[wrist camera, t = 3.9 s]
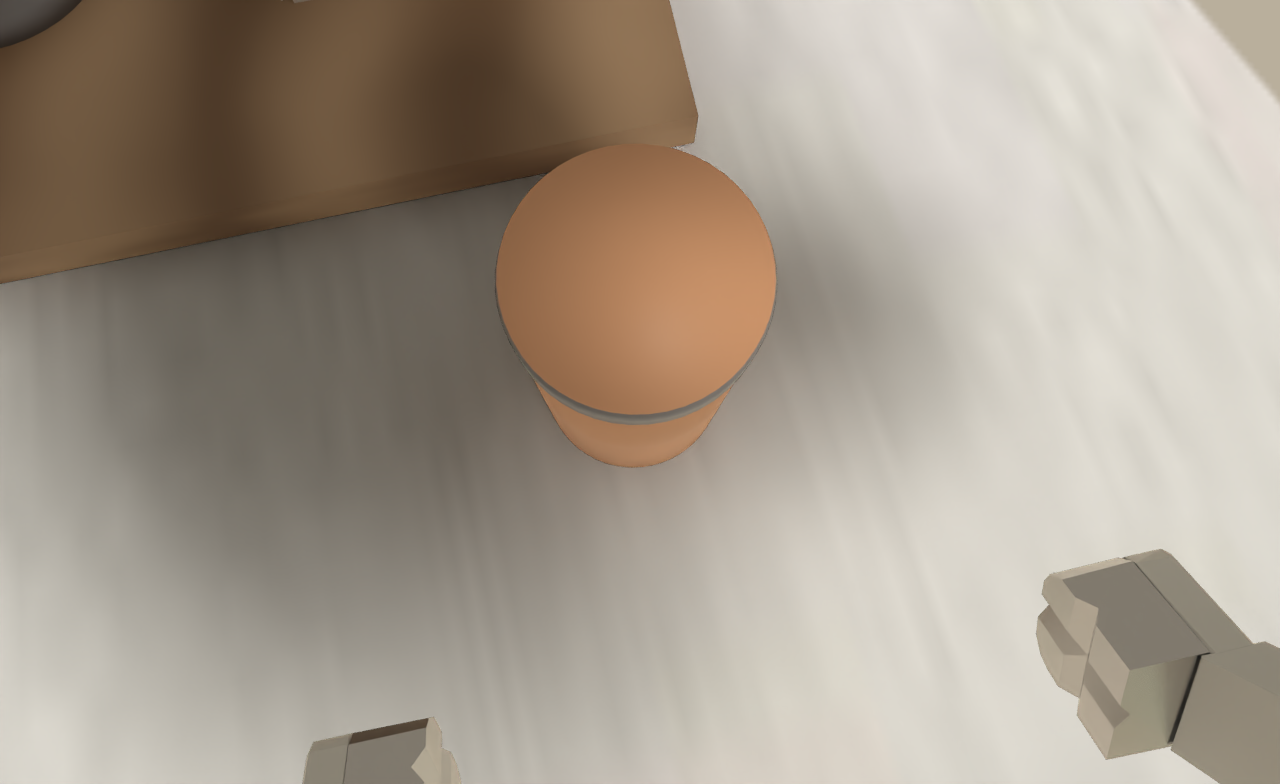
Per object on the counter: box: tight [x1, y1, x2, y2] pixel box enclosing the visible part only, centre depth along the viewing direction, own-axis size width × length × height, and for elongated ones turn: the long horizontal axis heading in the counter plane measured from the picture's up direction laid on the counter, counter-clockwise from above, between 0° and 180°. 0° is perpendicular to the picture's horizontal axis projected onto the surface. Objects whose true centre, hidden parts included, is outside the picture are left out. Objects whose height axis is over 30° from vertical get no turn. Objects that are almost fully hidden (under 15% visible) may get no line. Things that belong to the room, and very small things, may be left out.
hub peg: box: [495, 144, 777, 467], centre depth 19 cm, size 4×4×9 cm
